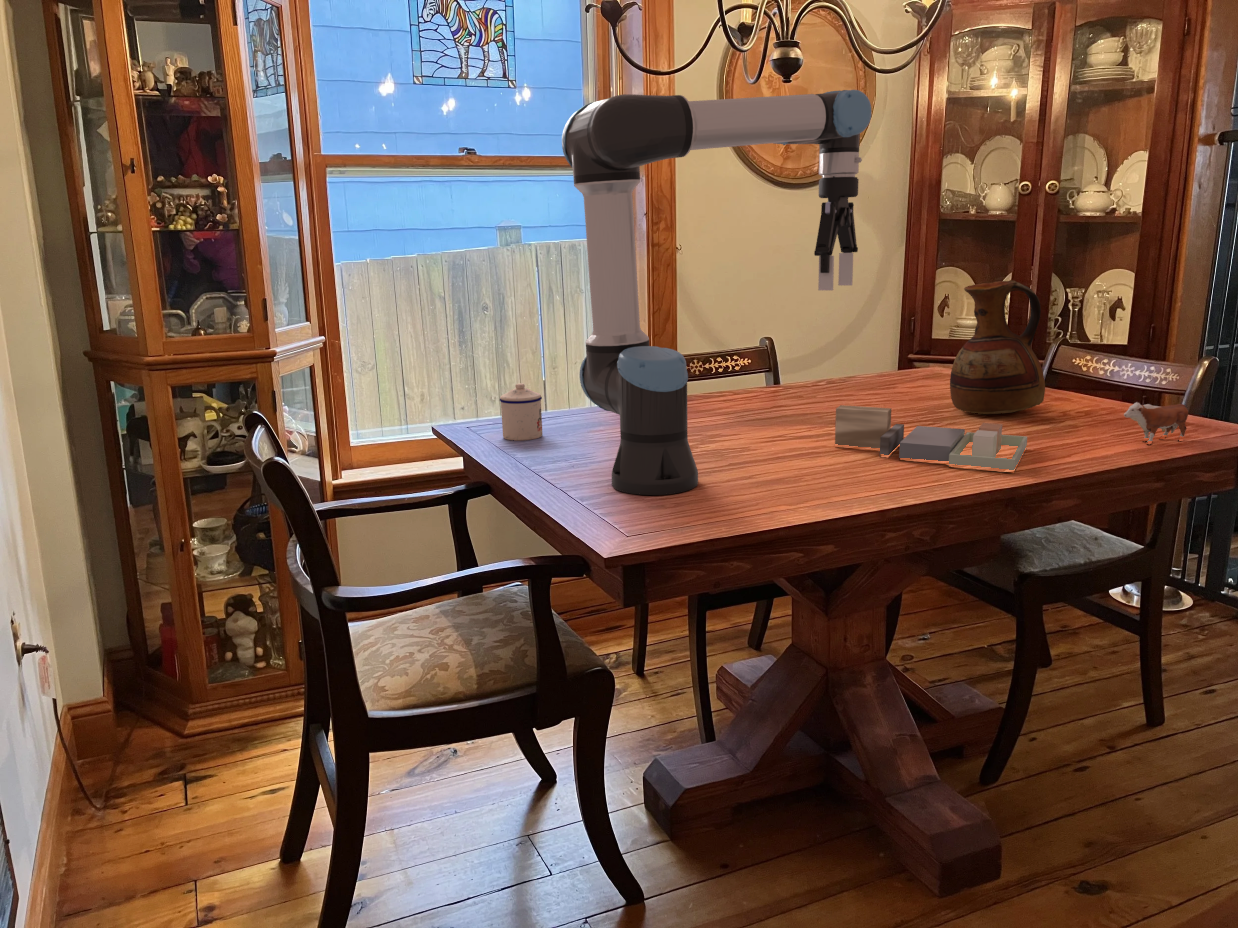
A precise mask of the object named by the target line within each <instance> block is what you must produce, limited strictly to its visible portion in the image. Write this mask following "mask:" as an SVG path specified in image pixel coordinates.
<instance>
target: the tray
mask: <svg viewBox="0 0 1238 928" xmlns="http://www.w3.org/2000/svg"><path fill="white" fill-rule="evenodd" d="M975 433H976V432H971V431H969V432H968V431H967V432H966V433H965V434H964V437H963V438H962V439H961V440H960V442H959V443H958V444H957V445H956V447H955V448H954V449H953V450H952V452H951V453H950V454H949V464H955V465H956V464H957V465H971V466H981V467H991V468H999V469H1009V470H1014V469H1015V467H1016V465H1017V464H1018V462H1019V460H1020V458H1021V456H1022V454H1023V452H1024V450H1025V448H1026V446H1027V445H1028V436H1025V435H1024V436H1023V435H1012V434H1008V435H1007V434H1002V437H1001V445H1009V446H1018V448H1017V450H1016V452H1015V454H1014V455H1013V457H1012V459H1007V458H995V457H983V456H971V455H960V453H961V452H962V451H963V449H964V448H965V447H966V445H967V444H968V443H969V442H973V435H974V434H975ZM1026 449H1027V448H1026Z"/></svg>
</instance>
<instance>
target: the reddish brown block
mask: <svg viewBox="0 0 1238 928" xmlns="http://www.w3.org/2000/svg"><path fill="white" fill-rule="evenodd" d="M978 430H983V431H997V432H998V433H997V447H996V454H997V453H998V452H999V450H1000V449H1001V437H1002V435H1003V433H1002V432H1003V423H993V422H992V423H990V422H982V423H981V425H980V426H979V427H978Z"/></svg>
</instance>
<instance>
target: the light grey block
mask: <svg viewBox="0 0 1238 928" xmlns="http://www.w3.org/2000/svg"><path fill="white" fill-rule="evenodd" d="M974 433H975V434H974V435H973V445H972V456H983V457H996V447H997V433H998V432H997V431H983V430H979V429H977V430H976V431H975V432H974Z"/></svg>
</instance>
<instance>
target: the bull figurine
mask: <svg viewBox="0 0 1238 928" xmlns="http://www.w3.org/2000/svg"><path fill="white" fill-rule="evenodd" d="M1123 416H1124V418H1127V419H1131V420H1133V421H1135V422H1137V424H1138V426H1139V427H1140V428H1141V430H1143V434H1144V438H1149V440H1148V441H1153V439H1154V437H1155V436H1156V433H1157V431H1158V429H1161V432H1163V434H1162V435H1167V436H1169V435H1168V434H1169V433H1171V434H1174V432H1175V430H1176V429H1177V428H1178V429H1179V430H1180V435H1179V437H1180V436H1182V437H1183V436H1184V437H1185V434H1186V432H1187V425H1186V422H1187V419H1188V417H1189V410H1188V409H1187V407H1186V405H1185V404H1183V403H1178V404H1171V405H1163V406H1158V405H1152V404H1150V403H1147V404H1141V403H1140V402H1138V401H1136V402H1134V403H1133V404H1132V405H1130V406H1129V407H1128V410H1126V411H1125V412H1124V413H1123ZM1148 441H1147V442H1148Z"/></svg>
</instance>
